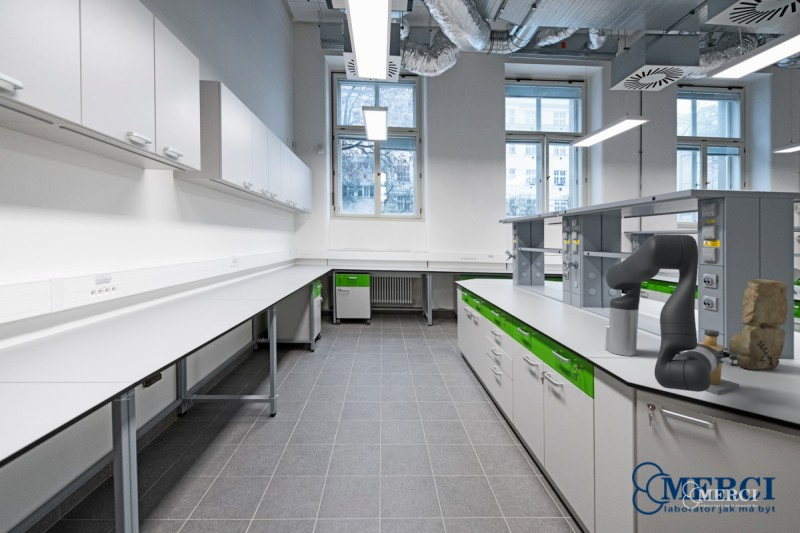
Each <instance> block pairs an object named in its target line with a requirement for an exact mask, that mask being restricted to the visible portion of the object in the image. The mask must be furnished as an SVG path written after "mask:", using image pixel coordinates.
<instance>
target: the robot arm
mask: <svg viewBox="0 0 800 533" xmlns="http://www.w3.org/2000/svg"><path fill="white" fill-rule="evenodd" d="M698 246H699V245H698V244H697V240H696V239H695V238H694V237H693V236H692V235H689V234H654V235H651V236H649V237H648V238H646V239H645V240H644V242H643V243H642V244H641V246H640V247H639V248H638V249H636V251H635V252H634V253H632V254H630V255H629V256H627V257H626V258H625V259H624V260H622V261H621V262H619V263H618V264H614V265H611V266H610V268H609V269H608V270H607V272H606V277H605V279H606V284H607V286H608V287H609V288H610V289H612V290H616V291H617V290H618V291H626V293H625V294H623V295H620V296H618V297H614V298H612V299H611V300H610V301H609V322H608V325H606V327H605V328H606V329H605V330H606V331H605V350H606V351H608V352H609V353H612V354H615V355H618V356H627V357H629V356H630V357H631V356H633V357H634V356H636V355H637V348H638V346H637V344H638V329H639V311H640V310H639V309H640V299H641V289H642V288H641V287H642V283H643V282H647V281H649V280H651V279H653V278H654V277H655V276H657V275H658V274H659V273H660V271H661V270H678V273H679V274H678V276H679V277H678V282H677V284H676V287H675V289H674V290H673V292H672V293H671V295H670V296H669V297H668V298H667V300H666V301H665V303H664V305H662V308H661V311H660V314H659V328H660V346H659V352H658V356H657V358H656V359H657V360H656V363H655V365H654V373H653V374H654V377H655V380H656V382H657V383H658V384H659V385H660V386H661V387H662V388H664V389H670V390H677V391H678V390H680V391H688V392H689V391H690V392H700V393H701V392H706V391H705V390H707V389H708V388H709V387H710V384H711V377H710V374H711V373H712V372H713V371H714V370H715V369H716V368H717V367H718V365H719V364H720V363H722V364H723V363H728V364H729V365H730V366H732V367H738V364H737V359H738V356H737V353H735V352H731V351H730V349H729V348H728V347H725V348H724V347H723V350H720V349H713V348H711V347H710V346H708V345H704V344H698V343H699V342H698V336H697V335H698V334H697V325H696V313H695V312H696V311H695V310H696V296H697V295H696V294H697V283H698V281H697V280H698V268H699V267H698V265H699V248H698ZM676 355H677V356H676ZM675 356H676V357H675Z"/></svg>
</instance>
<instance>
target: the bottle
mask: <svg viewBox="0 0 800 533" xmlns="http://www.w3.org/2000/svg"><path fill="white" fill-rule="evenodd" d="M704 335H705V338H704V341H700V342H697V343H698V344H704V345H708V346H710V347H711V348H713V349H720V350H723V349H724V346H723V345H721V344H718V337H719V336H720V331H718V330H715V329H709V328H708V329H707V328H706V329H704ZM722 368H723V363H720V364H719V365H718V367H717V368H716V369H715V370H714V371H713V372H712V373H711V374H710V377H711V384H712V385H719V384H720V381H721V379H722V370H723V369H722Z"/></svg>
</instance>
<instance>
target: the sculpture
mask: <svg viewBox="0 0 800 533" xmlns="http://www.w3.org/2000/svg"><path fill="white" fill-rule="evenodd" d="M788 288H789V284H788V283H786V282H782V281H778V280H774V279H773V280H772V279H763V278H759V279H758V278H754V279H749V280H748V282H747V287H746V288H745V289H744V292H743V294H744V295H743V296H744V298H743V299H742V307H743V309H742V310H743V311H742V313H741V322H742V324H743V325H745V326H744V327H743V329H742V330H741V331H740V332H739V333H735V334H733V335H732V336H731V338H730V339H729V342H728V347H729V350H730V351H731V352H735V353H737V356H738V359H737V366H739V367H740V368H744V369H746V370H751V371H752V370H753V371H754V370H760V371H761V370H773V369H776V368H777V367H778V365H779V364H780V360H779V359H780V357H781V356H782V354H783V353H782V352H783V350H784V344H785V339H786V331H785V330H784V329H782V328H781V326H782V325H783V326H784V325H785V324H786V322H787V320H788V317H787V314H788V311H789V309H788V308H789V307H788V298H787V296H786V294H787V292H788Z"/></svg>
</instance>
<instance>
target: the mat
mask: <svg viewBox="0 0 800 533" xmlns="http://www.w3.org/2000/svg"><path fill="white" fill-rule="evenodd" d="M740 387H741V384H740V383H737V382H733V381H732V380H727V379H723V378H721V381H720V384H719V385H712V384H710V387H709V388H708V389H707V390H705V391H704V392H708V393H711V394H714V395H718V396H719V395H720V394H723V393H727V392H729V391H733V390H736V389H739V388H740Z"/></svg>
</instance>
